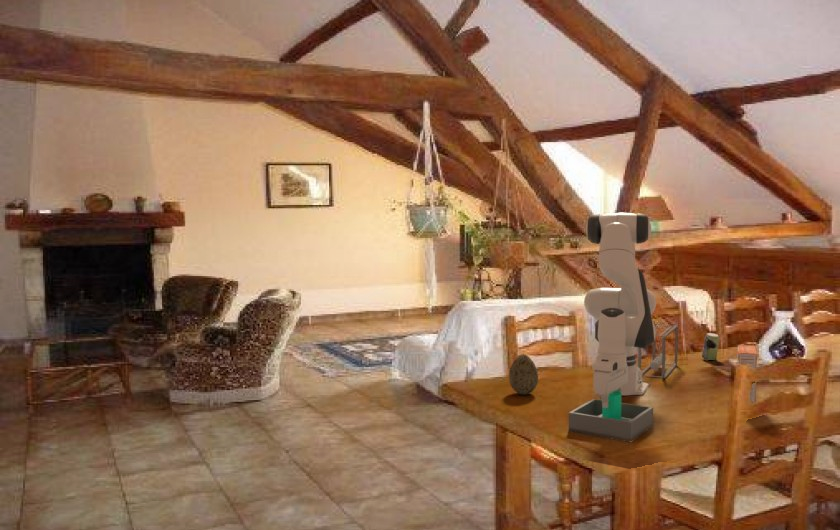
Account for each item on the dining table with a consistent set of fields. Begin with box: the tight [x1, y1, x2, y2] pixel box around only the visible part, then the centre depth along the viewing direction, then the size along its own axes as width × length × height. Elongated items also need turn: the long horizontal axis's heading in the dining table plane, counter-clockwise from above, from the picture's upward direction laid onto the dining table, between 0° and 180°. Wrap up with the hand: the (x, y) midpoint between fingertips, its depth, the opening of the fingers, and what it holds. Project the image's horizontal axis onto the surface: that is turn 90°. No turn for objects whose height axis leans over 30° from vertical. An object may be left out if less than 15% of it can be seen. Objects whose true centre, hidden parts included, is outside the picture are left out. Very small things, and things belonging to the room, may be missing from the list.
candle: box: [602, 391, 622, 420], centre depth 243 cm, size 6×6×12 cm
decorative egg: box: [508, 353, 539, 396], centre depth 286 cm, size 11×11×15 cm
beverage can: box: [701, 332, 720, 361], centre depth 341 cm, size 6×7×12 cm
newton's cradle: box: [637, 323, 679, 380], centre depth 321 cm, size 30×10×18 cm, turn 152°
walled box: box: [568, 398, 654, 442], centre depth 243 cm, size 20×20×6 cm
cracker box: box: [736, 344, 758, 403], centre depth 263 cm, size 14×6×21 cm, turn 159°
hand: (611, 403), depth 243 cm, fingers open, 8 cm apart
